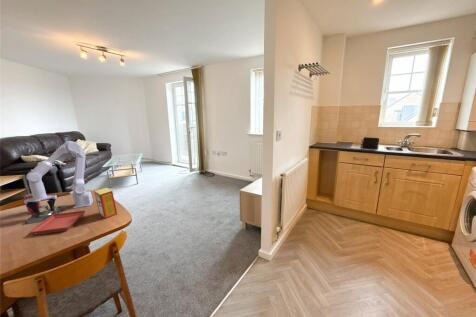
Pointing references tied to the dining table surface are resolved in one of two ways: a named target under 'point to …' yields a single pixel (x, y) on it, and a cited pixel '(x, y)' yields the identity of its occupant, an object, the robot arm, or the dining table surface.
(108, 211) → the baking soda box
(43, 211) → the end cover
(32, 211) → the beverage can
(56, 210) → the bore housing
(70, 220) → the plant saucer
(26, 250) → the dining table surface
